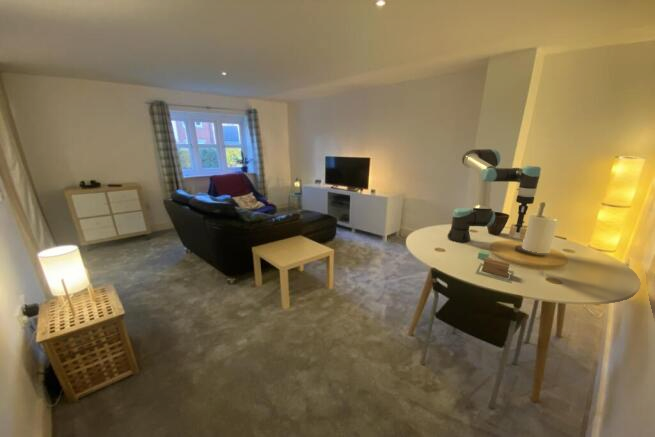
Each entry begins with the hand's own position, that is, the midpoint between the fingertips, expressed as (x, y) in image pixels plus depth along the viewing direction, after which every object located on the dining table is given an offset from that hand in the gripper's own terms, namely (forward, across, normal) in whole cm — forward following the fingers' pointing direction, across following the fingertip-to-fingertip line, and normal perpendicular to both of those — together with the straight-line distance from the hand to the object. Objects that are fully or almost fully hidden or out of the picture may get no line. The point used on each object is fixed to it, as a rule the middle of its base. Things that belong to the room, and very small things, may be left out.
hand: (516, 235), depth 144 cm
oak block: (0, 0, 0) cm, 0 cm away
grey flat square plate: (+18, +19, -6) cm, 27 cm away
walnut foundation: (+17, +19, -6) cm, 26 cm away
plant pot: (+19, -58, -15) cm, 62 cm away
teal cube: (+18, +2, -14) cm, 23 cm away
